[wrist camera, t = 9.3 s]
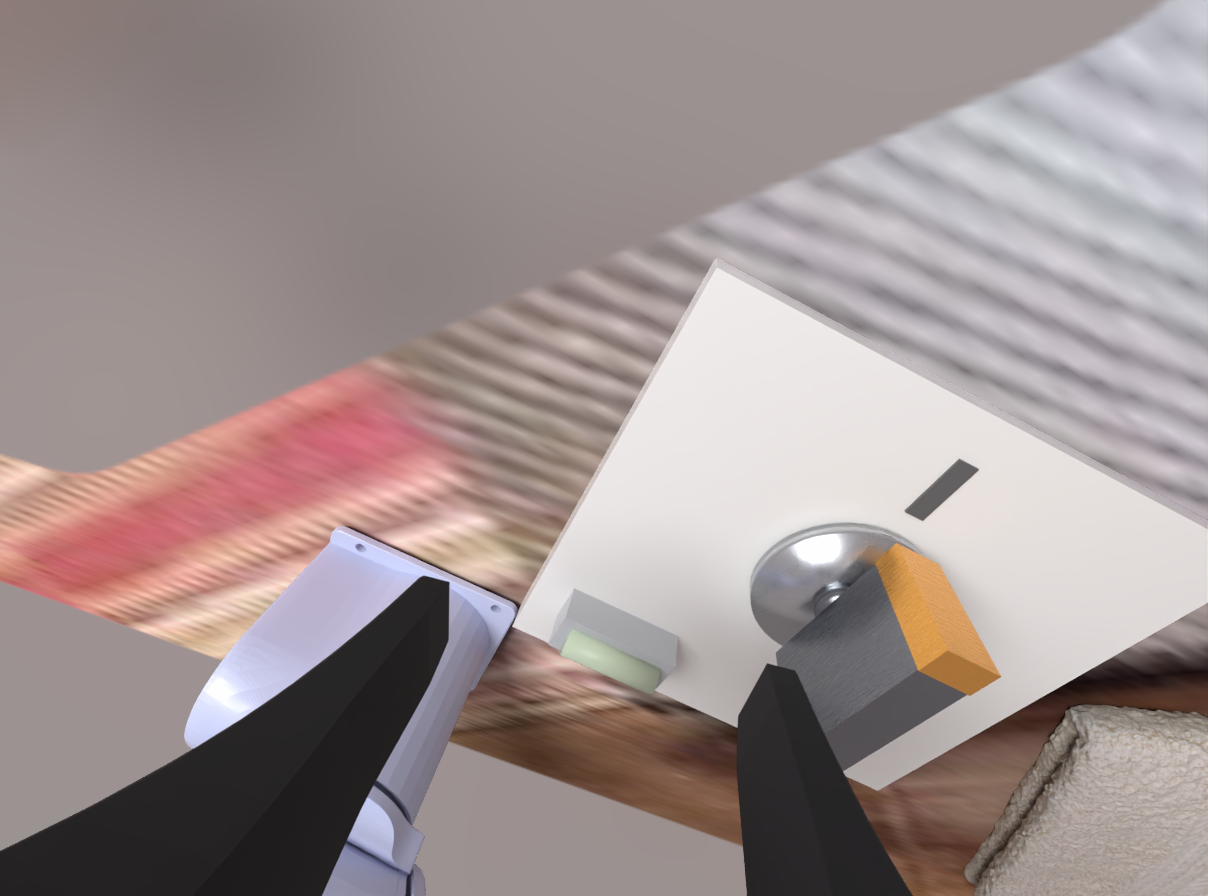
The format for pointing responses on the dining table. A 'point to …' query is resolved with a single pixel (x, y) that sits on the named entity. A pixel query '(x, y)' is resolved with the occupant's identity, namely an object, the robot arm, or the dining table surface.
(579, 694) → the dining table surface
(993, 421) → the base plate
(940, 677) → the rotary knob
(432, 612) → the robot arm
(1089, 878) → the washcloth
